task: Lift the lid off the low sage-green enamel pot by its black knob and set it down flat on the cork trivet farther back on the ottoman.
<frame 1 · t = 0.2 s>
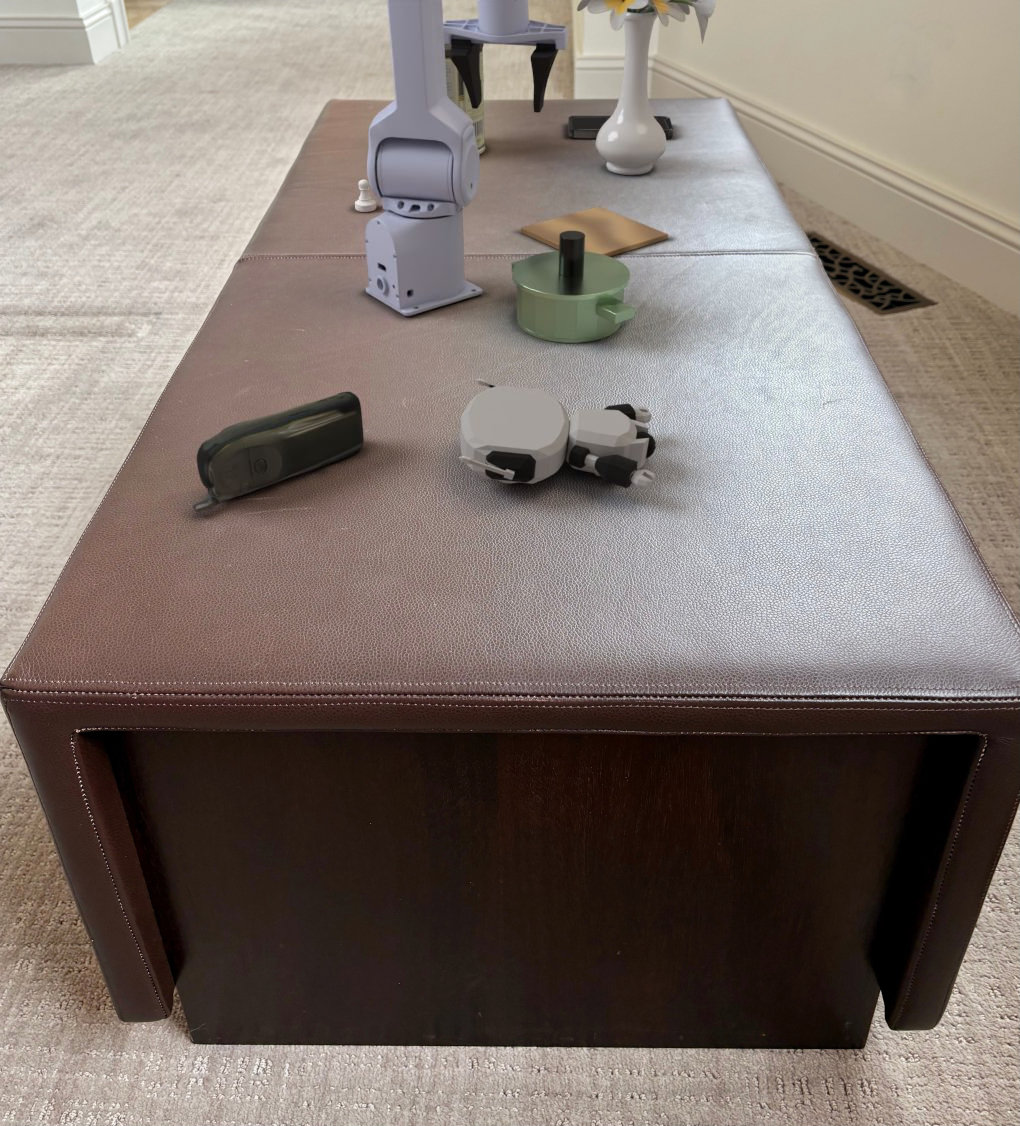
hand: (507, 107, 128), 11 cm above the table, tool pointing down, fingers open, 7 cm apart
pot: (569, 320, 104), on the table
flower vase: (633, 169, 143), on the table
coffee can: (448, 151, 150), on the table
robot toy: (556, 467, 83), on the table
chess pawn: (366, 210, 130), on the table
trivet: (593, 235, 123), on the table
phone: (619, 132, 157), on the table
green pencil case: (281, 478, 82), on the table
pot lid: (570, 277, 102), point 4 cm above the table, touching pot
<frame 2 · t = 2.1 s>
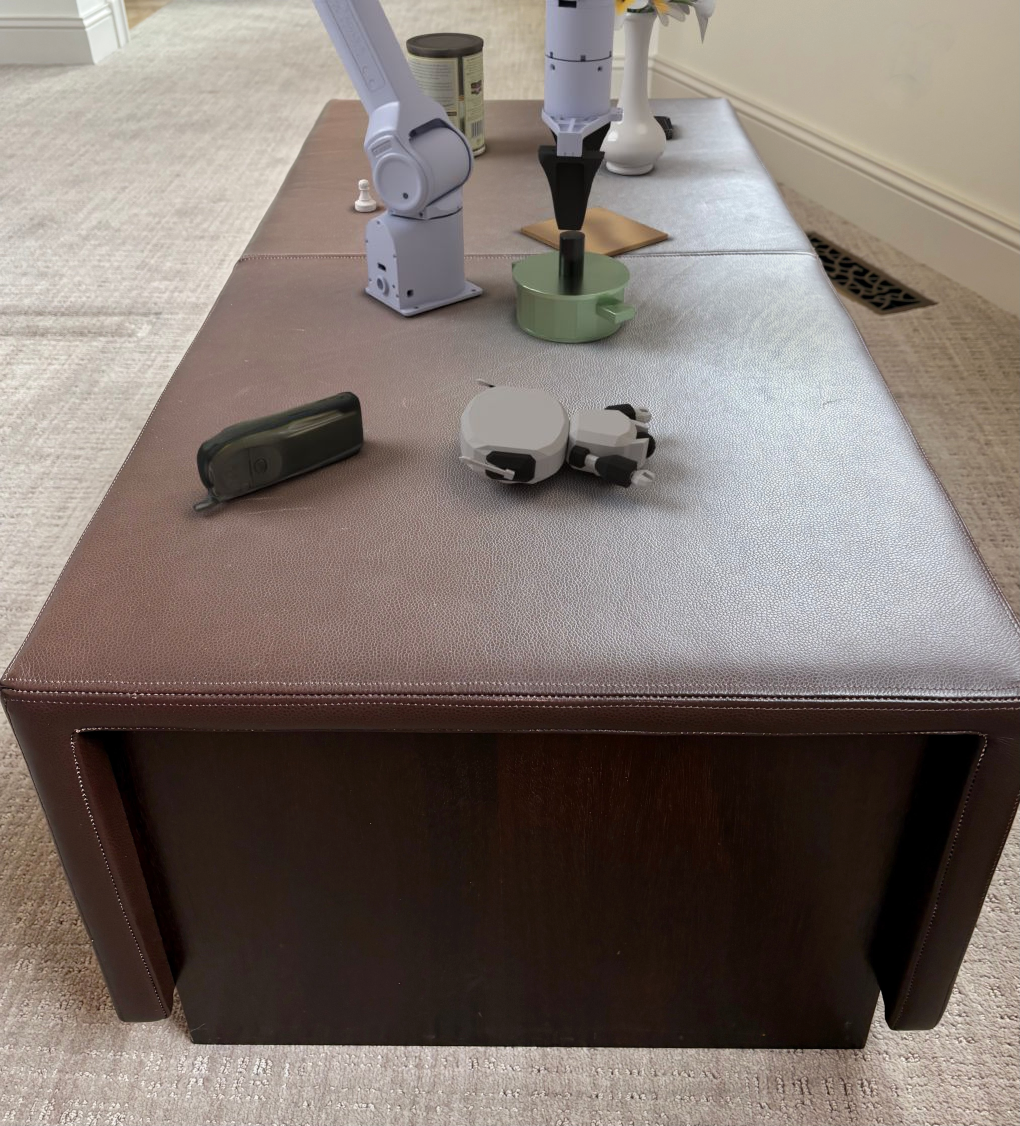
hand: (573, 214, 98), 10 cm above the table, tool pointing down, fingers open, 7 cm apart
nothing on the table moved.
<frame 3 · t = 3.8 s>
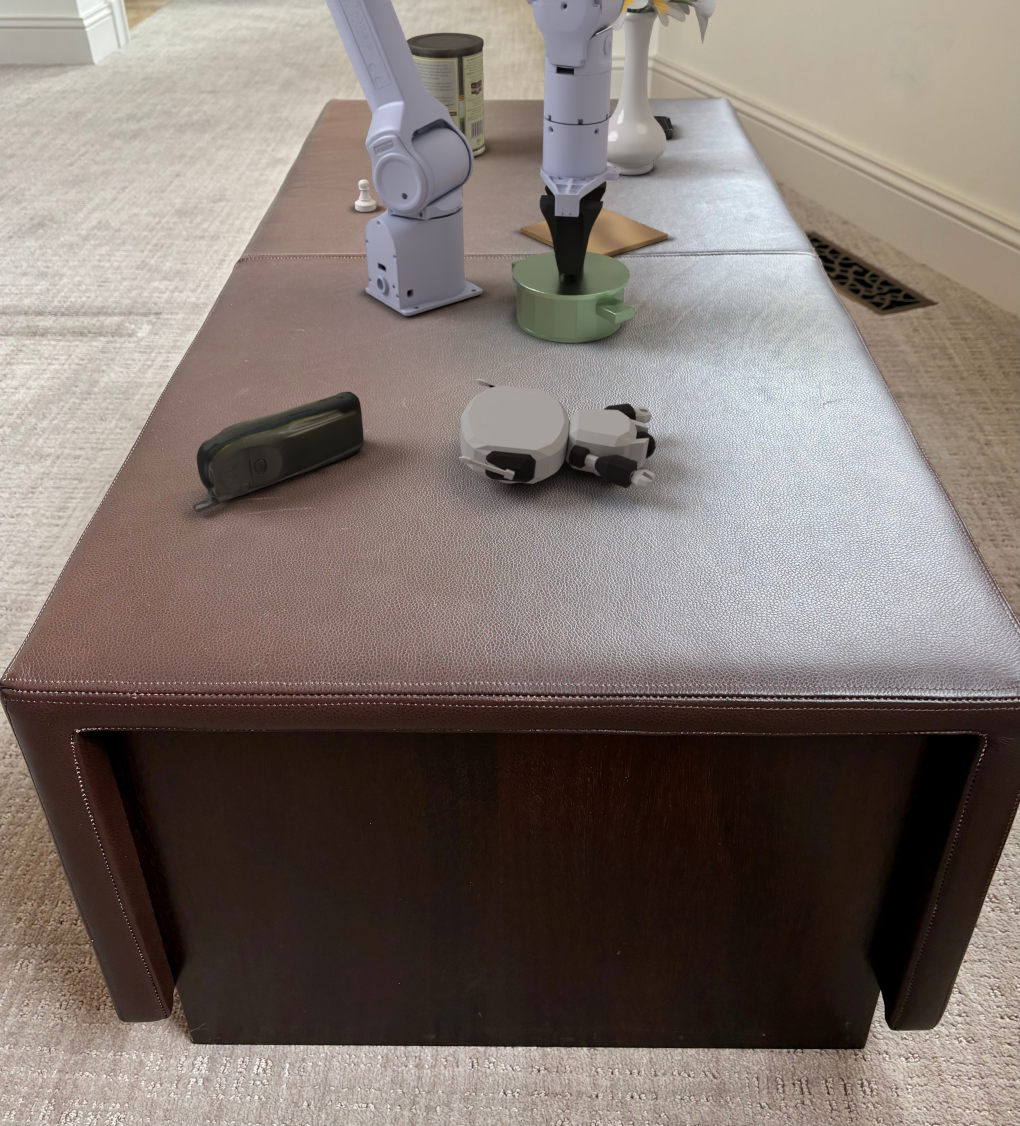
hand: (571, 266, 101), 5 cm above the table, tool pointing down, fingers closed on pot lid, 2 cm apart
pot lid: (570, 277, 102), point 4 cm above the table, touching gripper, pot
everything else where it was.
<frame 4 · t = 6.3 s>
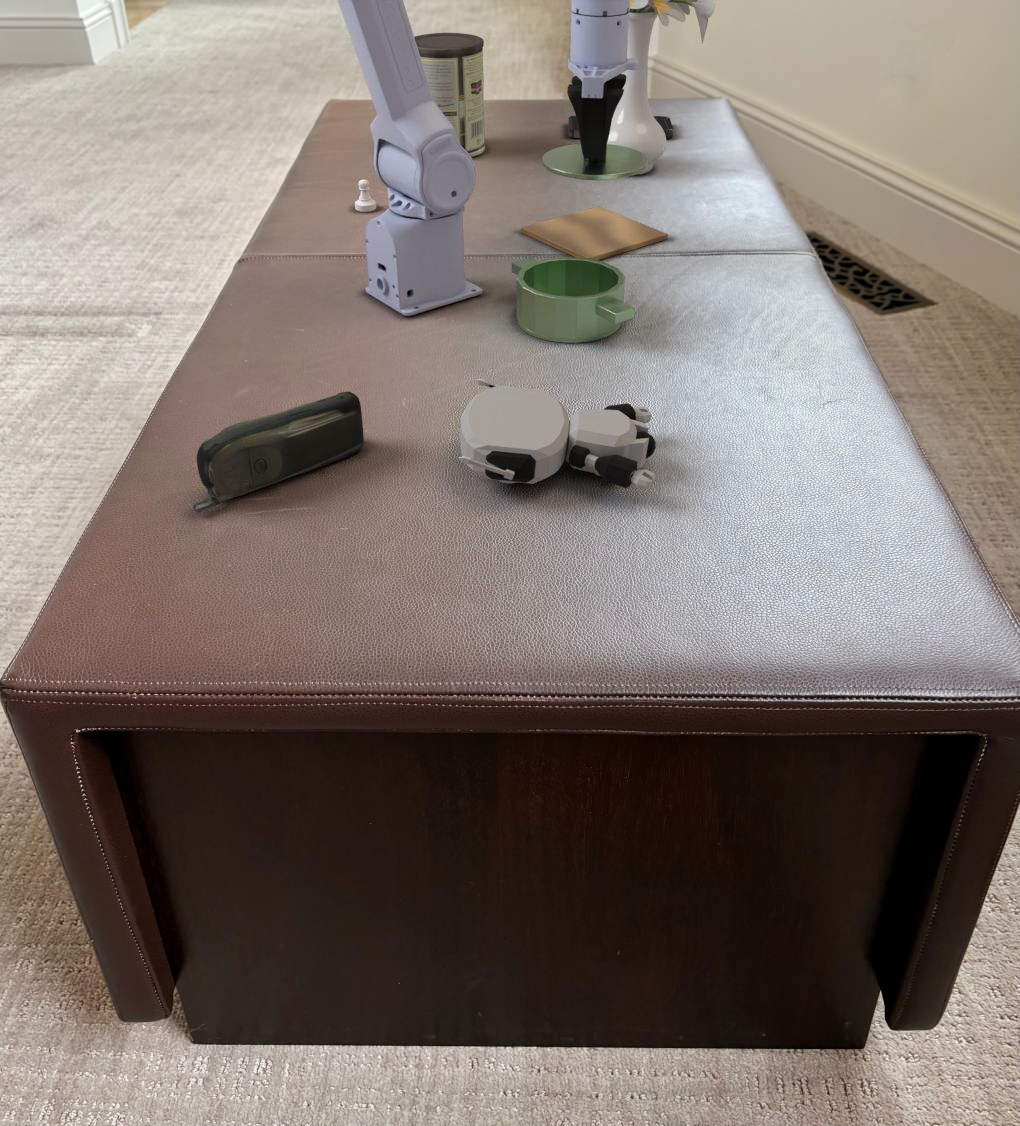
hand: (594, 153, 113), 10 cm above the table, tool pointing down, fingers closed on pot lid, 2 cm apart
pot lid: (594, 163, 114), point 9 cm above the table, touching gripper
everything else where it was.
when the fingers open (2 cm above the table, at t = 8.8 s): pot lid stays where it is, resting on trivet.
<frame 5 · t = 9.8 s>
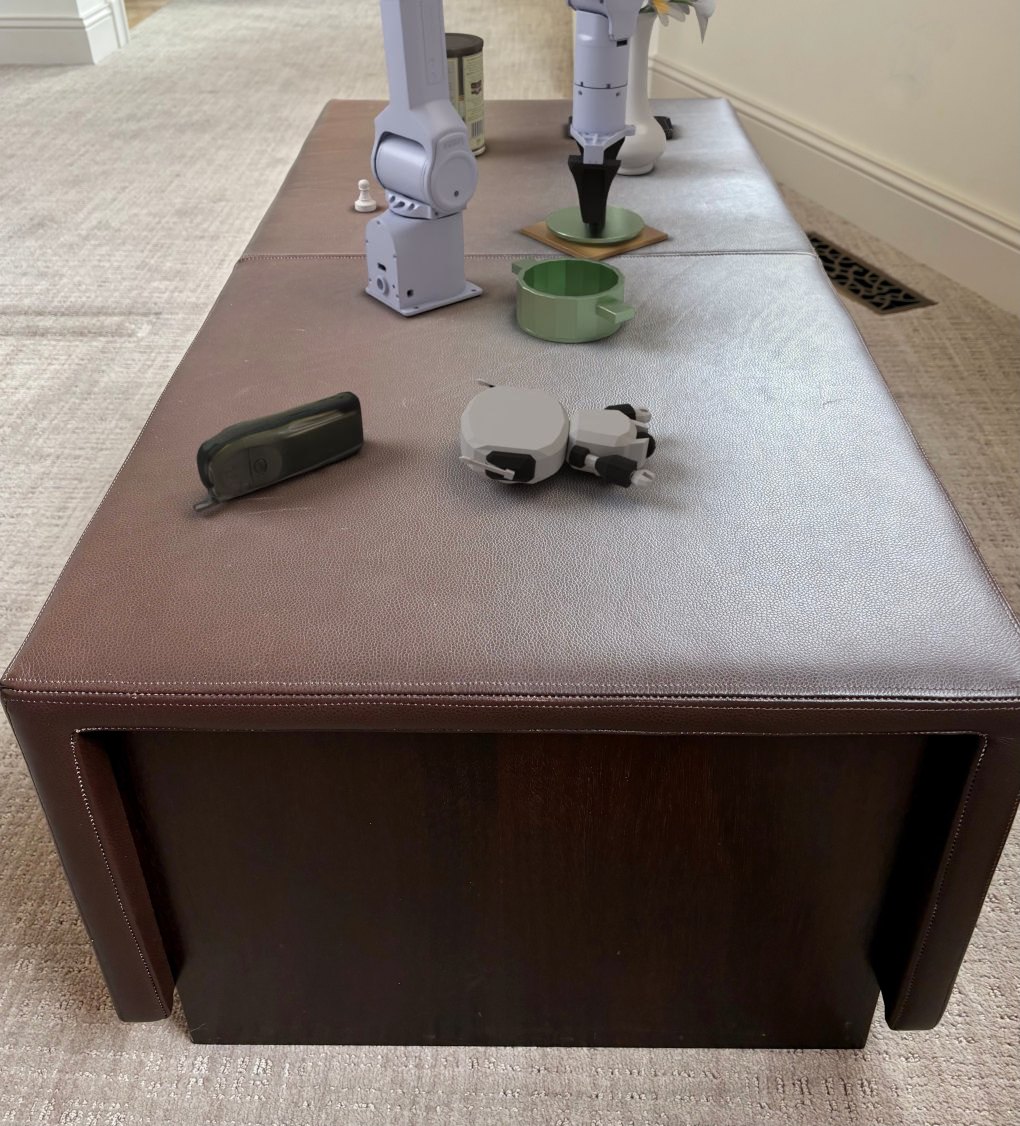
hand: (594, 210, 121), 3 cm above the table, tool pointing down, fingers open, 7 cm apart
pot lid: (595, 225, 122), point 1 cm above the table, touching trivet
everything else where it was.
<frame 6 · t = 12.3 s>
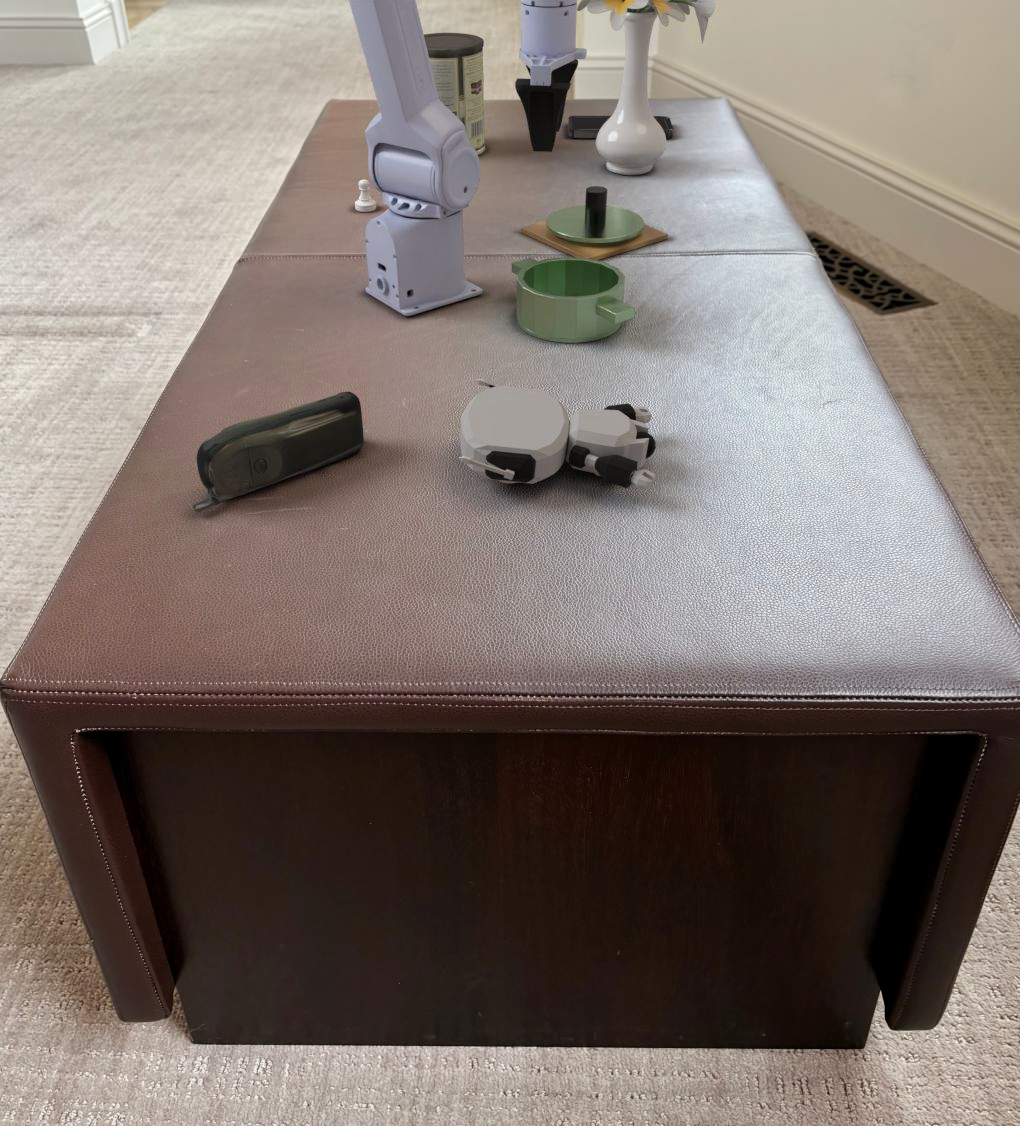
hand: (546, 140, 117), 10 cm above the table, tool pointing down, fingers open, 7 cm apart
nothing on the table moved.
at the end: pot lid 0.1 cm off-centre on the trivet, point 1.2 cm above the trivet's base; pot lid tilted 0°; the gripper is holding nothing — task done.
